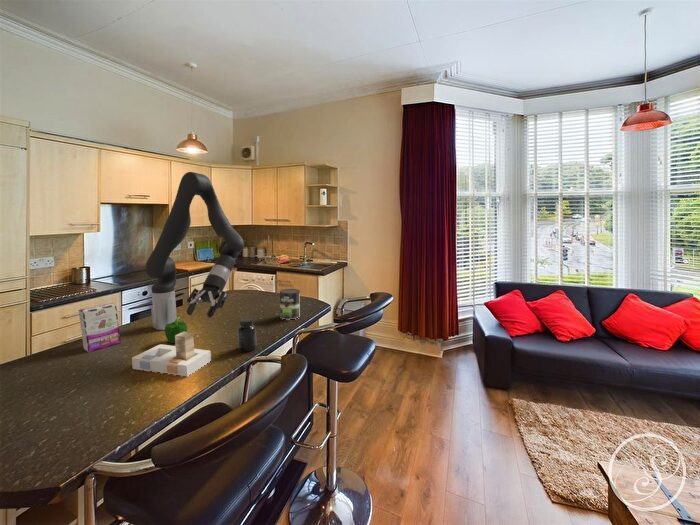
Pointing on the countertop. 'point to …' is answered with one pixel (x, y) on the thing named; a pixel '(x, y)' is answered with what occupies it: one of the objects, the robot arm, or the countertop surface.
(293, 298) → the coffee can
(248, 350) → the supplement bottle
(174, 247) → the robot arm
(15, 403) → the countertop surface
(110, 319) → the candy bar box
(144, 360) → the socket hub
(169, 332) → the bell pepper
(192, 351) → the beech plug
